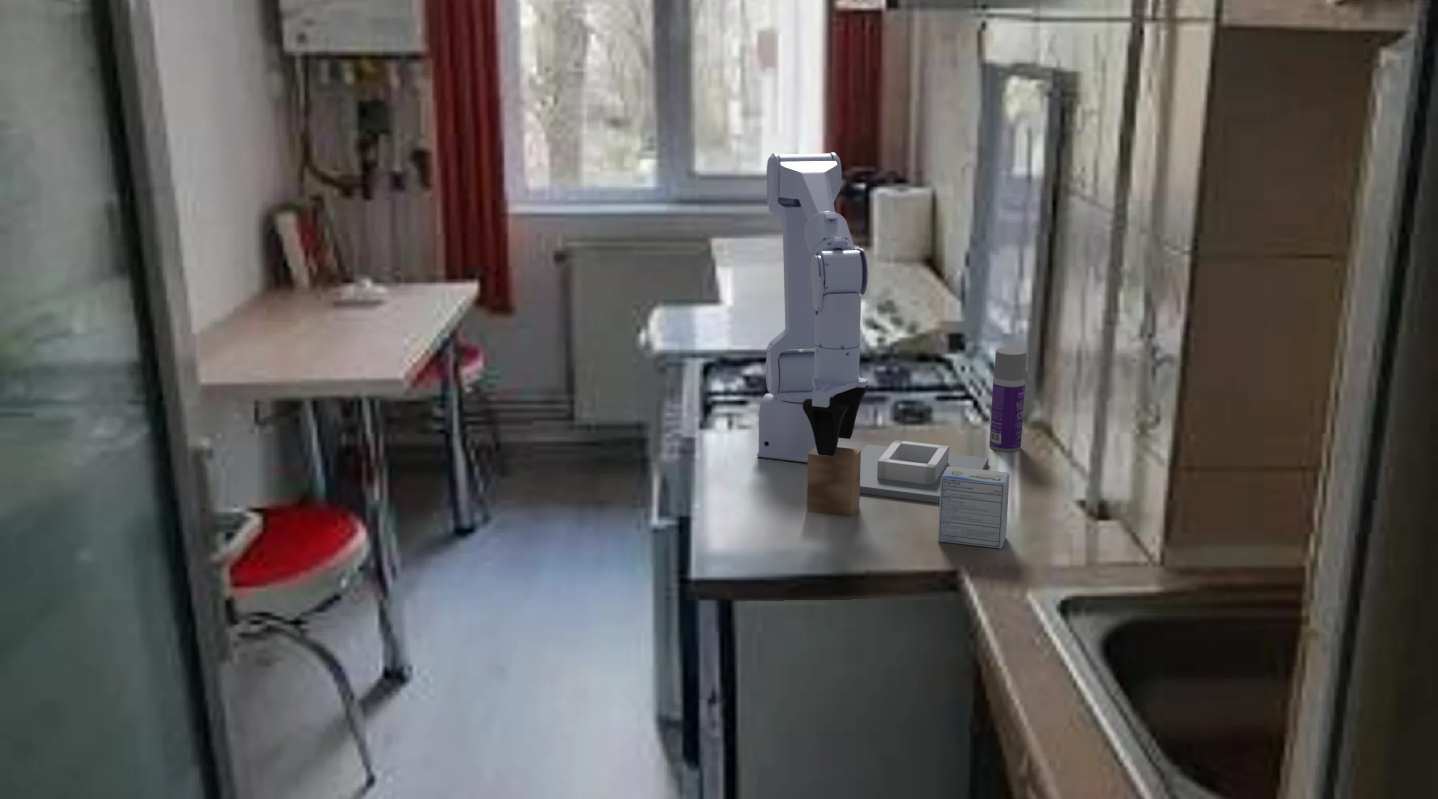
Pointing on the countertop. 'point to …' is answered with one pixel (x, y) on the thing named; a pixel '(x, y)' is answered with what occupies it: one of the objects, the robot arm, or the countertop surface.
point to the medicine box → (973, 507)
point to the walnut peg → (834, 482)
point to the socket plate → (910, 469)
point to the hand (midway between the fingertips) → (834, 446)
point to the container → (1008, 399)
